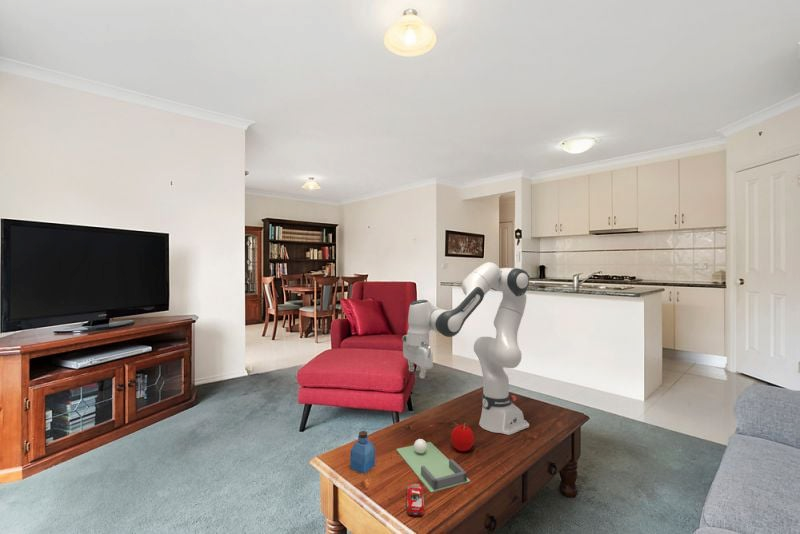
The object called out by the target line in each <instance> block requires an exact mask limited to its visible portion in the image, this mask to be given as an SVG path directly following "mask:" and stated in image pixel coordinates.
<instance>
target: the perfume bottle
mask: <svg viewBox="0 0 800 534" xmlns="http://www.w3.org/2000/svg"><path fill="white" fill-rule="evenodd" d="M368 434H369V433H368V431H365V430H361V431H359V432H358V436H357V439H358V440H357V441H356V442H355V443H354V444H353V446H352V447H351V450H350V456H349V457H350V459H349V460H350V461H349V463H350V465H349V467H350V468H349V469H352V470H354V471H357V472H359V473H361V474H363V475H365V474H366V473H367V472H369V471H370V470H371V469H372V468H373V467H375V466H376V447H375V446H374V443H373V442H372V441H370V440H369V436H368Z"/></svg>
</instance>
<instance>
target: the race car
mask: <svg viewBox="0 0 800 534" xmlns="http://www.w3.org/2000/svg"><path fill="white" fill-rule="evenodd" d="M424 491H425V489H424V486H423V485H422V484H420V483H419V482H411V483H409V484H408V485H407V487H406V512H407V514H408V516H409V515H410V516H415V517H416V516H418V517H419V516H423V515H424V514H425V497H424V494H425V493H424Z"/></svg>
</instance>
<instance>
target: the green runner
mask: <svg viewBox="0 0 800 534" xmlns="http://www.w3.org/2000/svg"><path fill="white" fill-rule="evenodd" d="M425 442H426V441H425ZM426 443H427V449H426V451H425V452H424V453H422V454H420V453H417V452H416V451H415V449H414V444H412V445H409V446H404V447H399V448H396V449H395V450H396V452H397V453H398V454H399V455H400V456H401V458H402V459H403V460H404V461H405V463H406V464H407V465H408V466H409V467H410V469H411V470H412V471H413V473H414V474H415V475H416V476H417V477H418V479H419V480H420V481H421V483H422V484H423V485H424V486H425V488H426V489H427V490H428V491H429V492H430V493H431V494H432V493H435V492H440V491H442V490H445V489H449V488H452V487H457V486H460V485H464V484H466V483H470V482H471V480H470V479H469V477H467V481H465V482H462V483H458V484H455V485H451V486H447V487H444V488H440V489H437V490H433V488H432V487H431V486H430V485H429V484H428V482H427V481H426V480H425V479H424V478H423V476H422V475H421V466H425V467H426V468H427V470H428V471H429V472H430V473H431V474H432V475H433V476H434V477H435V479H437V478H440V477H444V476H448V475H452V474H455V473H454V472H453V471H452V470H451V469H450V468H449V458H447V457H448V456H447V457H446V456H445V454H443V453H442V452H441V451H440V450H439V449H438V448H437V447H436V446H435V445H434V444H433V443H432V442H431V441H427V442H426Z"/></svg>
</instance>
